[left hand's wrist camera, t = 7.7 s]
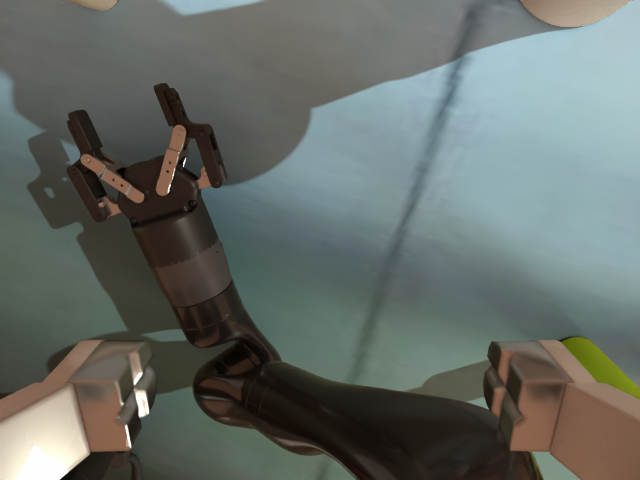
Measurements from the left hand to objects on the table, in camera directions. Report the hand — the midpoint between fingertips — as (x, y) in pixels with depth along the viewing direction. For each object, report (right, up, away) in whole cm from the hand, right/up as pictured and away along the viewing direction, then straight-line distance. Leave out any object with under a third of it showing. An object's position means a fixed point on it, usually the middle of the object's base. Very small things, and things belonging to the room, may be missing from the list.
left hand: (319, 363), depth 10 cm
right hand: (-19, +16, +30) cm, 39 cm away
